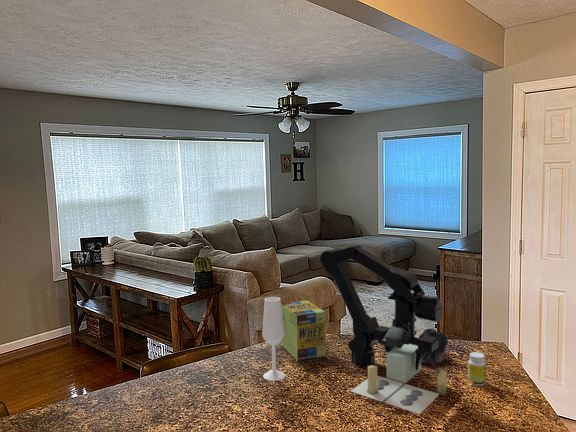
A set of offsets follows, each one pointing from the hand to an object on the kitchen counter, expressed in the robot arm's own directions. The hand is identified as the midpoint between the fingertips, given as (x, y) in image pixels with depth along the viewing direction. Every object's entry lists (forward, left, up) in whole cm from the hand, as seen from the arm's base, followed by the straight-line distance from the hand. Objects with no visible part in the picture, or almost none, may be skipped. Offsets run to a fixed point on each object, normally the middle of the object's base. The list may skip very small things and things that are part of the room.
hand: (404, 366), depth 138 cm
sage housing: (0, 0, -4) cm, 4 cm away
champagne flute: (-32, -23, -4) cm, 39 cm away
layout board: (+3, -13, -4) cm, 13 cm away
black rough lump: (-1, +19, -4) cm, 19 cm away
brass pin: (+13, -5, -4) cm, 14 cm away
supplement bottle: (+18, +9, -4) cm, 21 cm away
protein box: (-37, -2, -4) cm, 37 cm away
